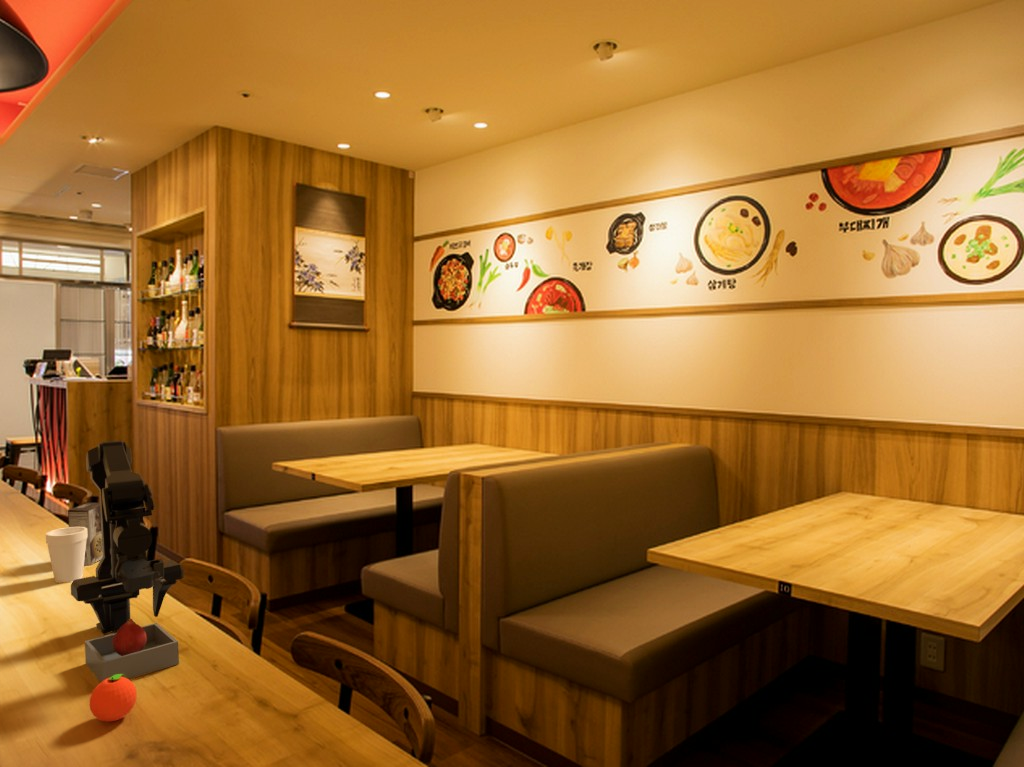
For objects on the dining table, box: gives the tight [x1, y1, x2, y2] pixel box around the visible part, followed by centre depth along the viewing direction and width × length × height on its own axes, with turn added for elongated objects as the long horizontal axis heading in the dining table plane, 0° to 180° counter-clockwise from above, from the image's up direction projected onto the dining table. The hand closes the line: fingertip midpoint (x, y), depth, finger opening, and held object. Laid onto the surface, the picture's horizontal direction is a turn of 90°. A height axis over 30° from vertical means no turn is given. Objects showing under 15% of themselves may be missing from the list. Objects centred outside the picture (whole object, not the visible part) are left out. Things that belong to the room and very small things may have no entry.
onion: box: [113, 618, 147, 656], centre depth 140 cm, size 6×6×8 cm
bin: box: [84, 622, 180, 684], centre depth 140 cm, size 13×13×4 cm
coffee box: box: [67, 502, 103, 566], centre depth 208 cm, size 9×6×16 cm
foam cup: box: [45, 526, 88, 584], centre depth 191 cm, size 10×9×13 cm
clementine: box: [89, 674, 137, 723], centre depth 120 cm, size 8×7×7 cm
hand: (130, 622), depth 140 cm, fingers open, 9 cm apart
